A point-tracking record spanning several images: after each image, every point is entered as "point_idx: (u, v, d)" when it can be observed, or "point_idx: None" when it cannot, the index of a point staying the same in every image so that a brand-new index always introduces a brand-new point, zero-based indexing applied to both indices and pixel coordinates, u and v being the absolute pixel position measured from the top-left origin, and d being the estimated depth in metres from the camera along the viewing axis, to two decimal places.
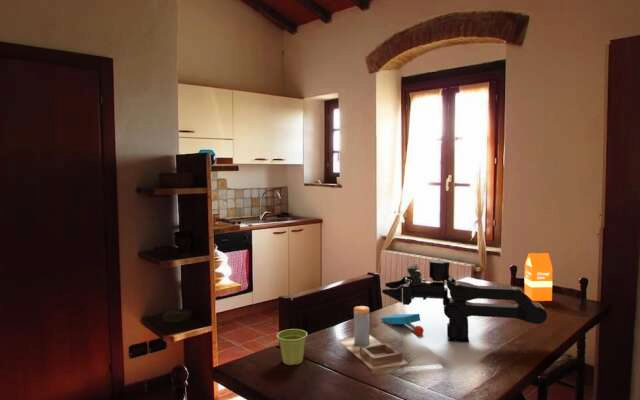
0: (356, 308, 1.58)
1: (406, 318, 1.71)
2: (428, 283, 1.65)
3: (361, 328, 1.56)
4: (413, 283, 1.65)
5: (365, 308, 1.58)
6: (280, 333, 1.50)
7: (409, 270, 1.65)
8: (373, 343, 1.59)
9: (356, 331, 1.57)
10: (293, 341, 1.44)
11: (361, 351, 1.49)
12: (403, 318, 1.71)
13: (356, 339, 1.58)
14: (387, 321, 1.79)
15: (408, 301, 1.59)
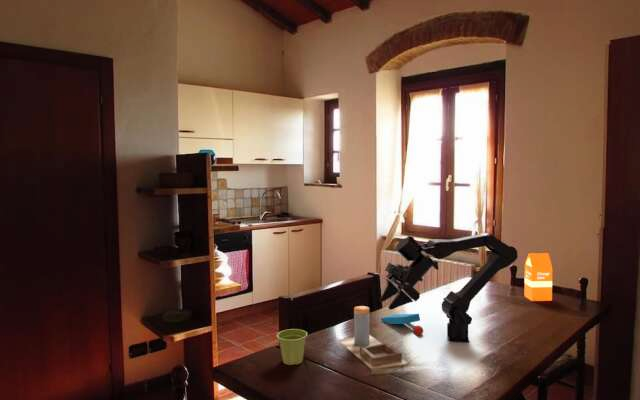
0: (356, 308, 1.58)
1: (406, 318, 1.71)
2: (412, 266, 1.59)
3: (362, 328, 1.56)
4: (403, 278, 1.57)
5: (365, 308, 1.58)
6: (280, 333, 1.50)
7: (391, 272, 1.57)
8: (373, 343, 1.59)
9: (356, 331, 1.57)
10: (293, 341, 1.44)
11: (361, 351, 1.49)
12: (403, 318, 1.71)
13: (356, 339, 1.58)
14: (387, 321, 1.80)
15: (417, 295, 1.52)
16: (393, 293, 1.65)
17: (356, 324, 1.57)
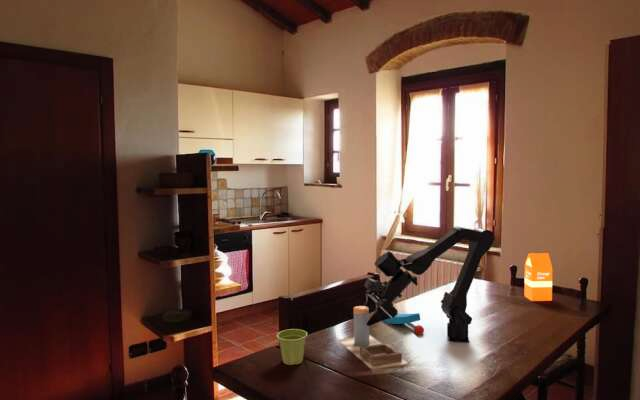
0: (356, 308, 1.58)
1: (407, 318, 1.71)
2: (391, 282, 1.58)
3: (361, 328, 1.56)
4: (382, 294, 1.56)
5: (364, 308, 1.58)
6: (280, 333, 1.50)
7: (369, 288, 1.56)
8: (373, 343, 1.59)
9: (356, 331, 1.57)
10: (293, 341, 1.44)
11: (361, 351, 1.49)
12: (403, 318, 1.72)
13: (356, 339, 1.58)
14: (387, 321, 1.80)
15: (395, 312, 1.51)
16: (372, 308, 1.64)
17: (356, 324, 1.57)
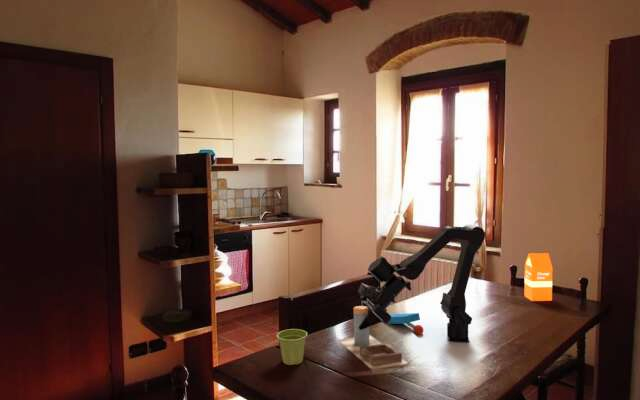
0: (356, 308, 1.58)
1: (406, 317, 1.72)
2: (385, 287, 1.58)
3: None
4: (375, 299, 1.56)
5: (364, 308, 1.58)
6: (280, 333, 1.50)
7: (363, 293, 1.56)
8: (373, 343, 1.59)
9: (356, 331, 1.57)
10: (293, 341, 1.44)
11: (361, 351, 1.49)
12: (403, 317, 1.72)
13: (356, 339, 1.58)
14: None
15: (388, 317, 1.50)
16: None
17: (356, 324, 1.57)
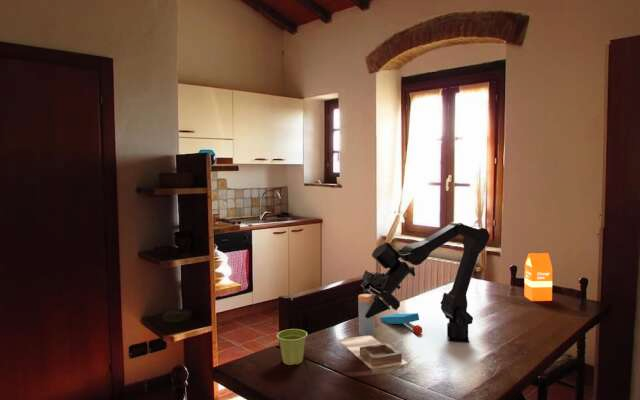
0: (360, 296, 1.53)
1: (405, 317, 1.72)
2: (389, 273, 1.54)
3: None
4: (381, 286, 1.51)
5: (370, 296, 1.53)
6: (280, 333, 1.50)
7: (369, 280, 1.51)
8: (373, 343, 1.59)
9: (361, 320, 1.52)
10: (293, 341, 1.44)
11: (361, 351, 1.49)
12: (402, 317, 1.72)
13: (362, 328, 1.52)
14: (386, 320, 1.80)
15: (398, 304, 1.46)
16: None
17: (361, 313, 1.52)
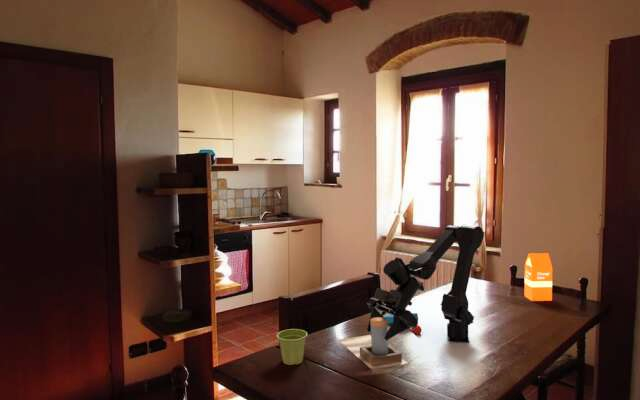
0: (374, 320, 1.46)
1: None
2: (401, 290, 1.49)
3: (383, 341, 1.44)
4: (396, 304, 1.46)
5: (383, 319, 1.46)
6: (280, 333, 1.50)
7: (384, 299, 1.44)
8: None
9: (376, 345, 1.45)
10: (293, 341, 1.44)
11: (361, 351, 1.49)
12: None
13: (377, 354, 1.45)
14: None
15: (416, 321, 1.42)
16: None
17: (376, 338, 1.44)
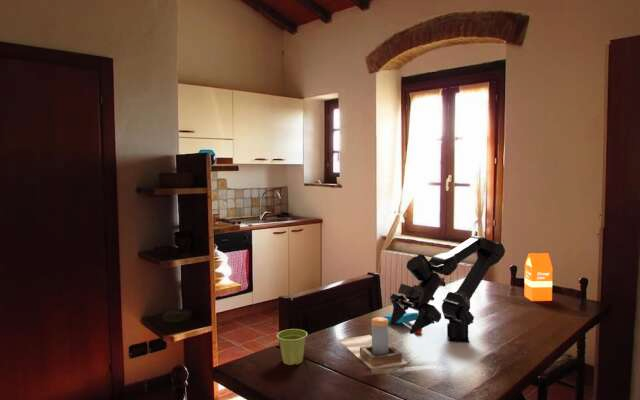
0: (375, 320, 1.46)
1: (405, 317, 1.72)
2: (424, 285, 1.54)
3: (383, 341, 1.45)
4: (419, 299, 1.51)
5: (384, 319, 1.46)
6: (280, 333, 1.50)
7: (408, 294, 1.49)
8: None
9: (377, 345, 1.45)
10: (293, 341, 1.44)
11: (361, 351, 1.49)
12: (402, 317, 1.72)
13: (377, 354, 1.45)
14: None
15: (440, 315, 1.47)
16: (401, 315, 1.57)
17: (377, 338, 1.45)
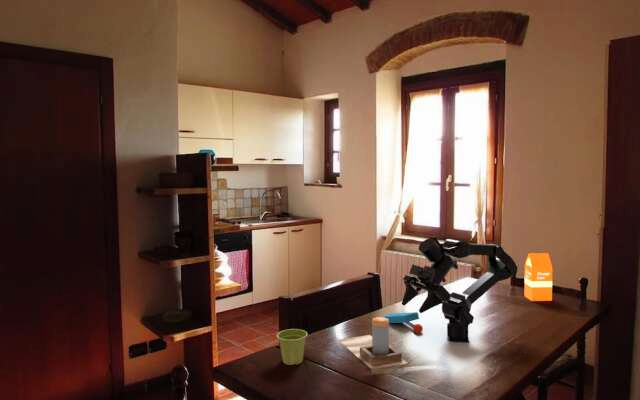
0: (375, 320, 1.46)
1: (405, 317, 1.72)
2: (436, 267, 1.57)
3: (384, 341, 1.44)
4: (430, 279, 1.54)
5: (385, 320, 1.46)
6: (280, 333, 1.50)
7: (418, 274, 1.53)
8: None
9: (377, 345, 1.45)
10: (293, 341, 1.44)
11: (361, 351, 1.49)
12: (402, 317, 1.73)
13: (377, 354, 1.45)
14: None
15: (449, 296, 1.50)
16: (413, 296, 1.61)
17: (377, 338, 1.45)
